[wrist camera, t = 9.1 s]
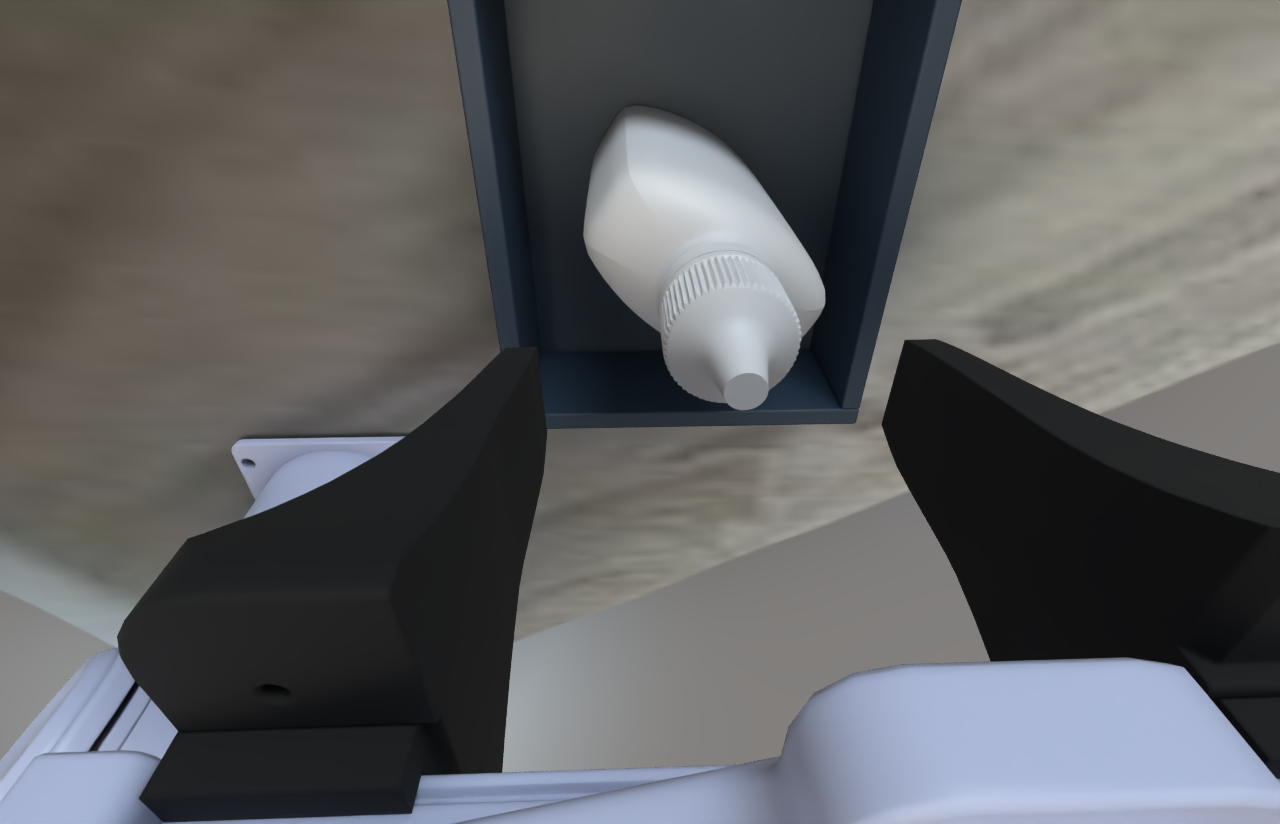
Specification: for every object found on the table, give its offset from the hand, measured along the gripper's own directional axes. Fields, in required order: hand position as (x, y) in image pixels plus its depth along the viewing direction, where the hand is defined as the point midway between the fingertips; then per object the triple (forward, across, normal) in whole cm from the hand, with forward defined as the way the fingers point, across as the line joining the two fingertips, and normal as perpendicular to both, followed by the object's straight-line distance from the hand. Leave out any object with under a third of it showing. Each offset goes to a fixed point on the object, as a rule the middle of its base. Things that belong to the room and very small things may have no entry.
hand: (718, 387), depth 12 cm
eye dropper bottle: (+10, 0, -1) cm, 10 cm away
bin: (+10, 0, -1) cm, 10 cm away
